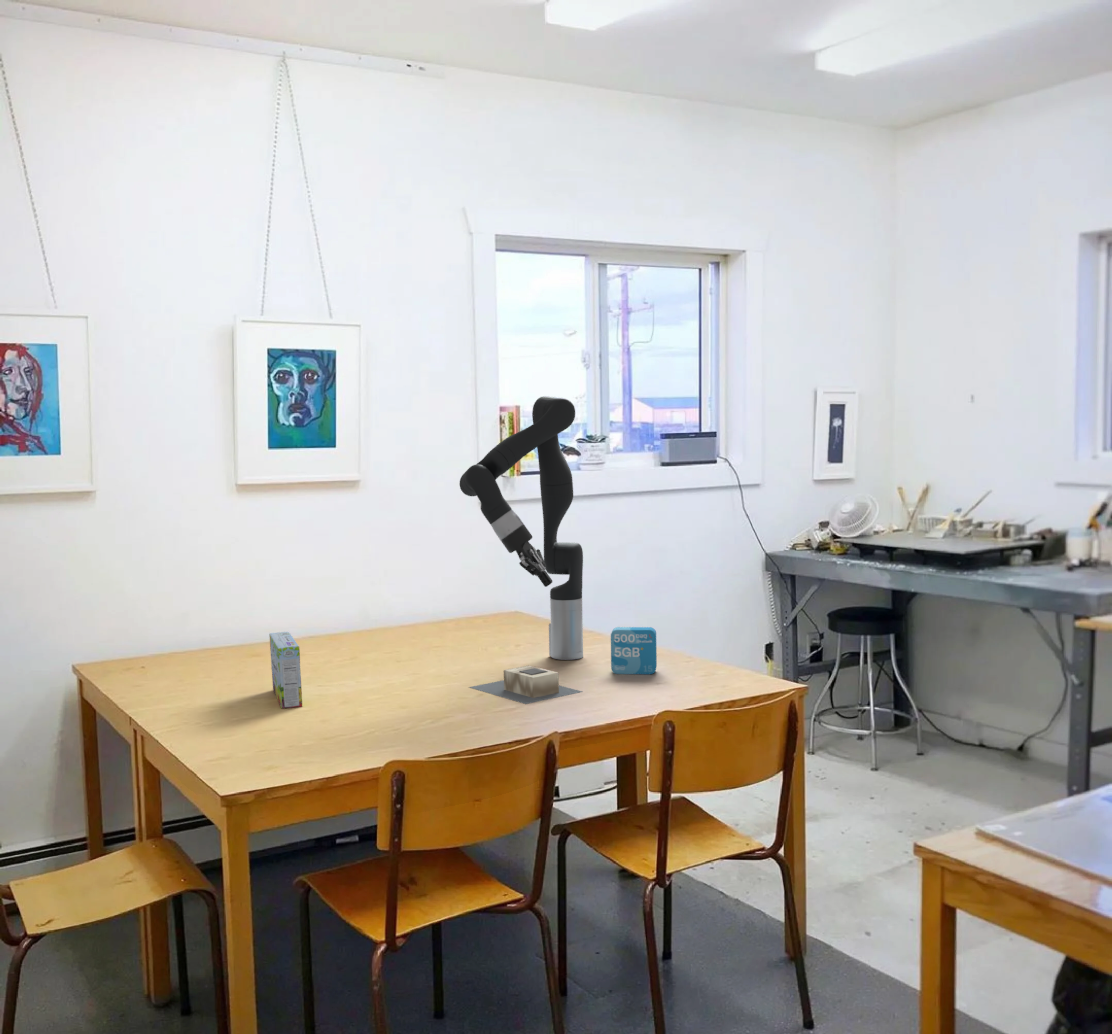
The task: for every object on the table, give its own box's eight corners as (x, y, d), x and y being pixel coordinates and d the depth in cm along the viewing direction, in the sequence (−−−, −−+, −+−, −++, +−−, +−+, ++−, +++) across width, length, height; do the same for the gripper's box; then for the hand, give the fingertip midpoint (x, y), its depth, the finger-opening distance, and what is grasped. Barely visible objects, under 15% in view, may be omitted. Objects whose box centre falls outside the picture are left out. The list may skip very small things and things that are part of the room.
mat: (468, 688, 277) (468, 687, 277) (524, 677, 288) (524, 676, 288) (526, 705, 259) (526, 704, 258) (583, 692, 270) (583, 691, 270)
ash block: (503, 669, 273) (533, 676, 264) (528, 664, 278) (558, 671, 269) (504, 689, 274) (533, 697, 264) (529, 684, 279) (558, 692, 269)
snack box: (270, 690, 279) (268, 632, 278) (292, 688, 281) (290, 630, 280) (280, 709, 259) (277, 647, 258) (303, 707, 261) (301, 645, 260)
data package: (611, 674, 290) (610, 629, 289) (612, 670, 295) (611, 626, 294) (656, 674, 289) (655, 630, 288) (656, 671, 293) (656, 627, 292)
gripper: (515, 527, 279) (554, 582, 279) (529, 519, 292) (566, 571, 292) (493, 543, 282) (531, 598, 282) (507, 534, 294) (544, 586, 294)
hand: (549, 584), depth 287 cm, fingers closed
